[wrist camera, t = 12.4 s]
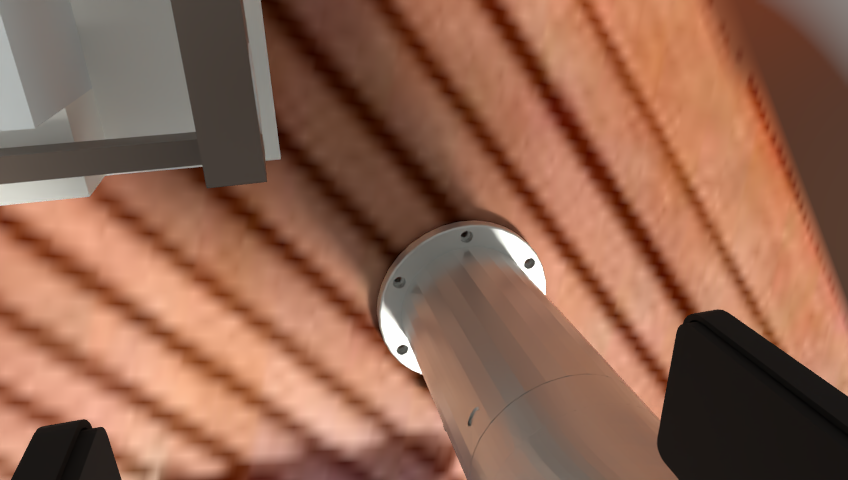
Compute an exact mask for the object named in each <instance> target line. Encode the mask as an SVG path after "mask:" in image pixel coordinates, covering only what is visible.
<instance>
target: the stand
mask: <svg viewBox="0 0 848 480" xmlns="http://www.w3.org/2000/svg"><path fill="white" fill-rule="evenodd" d="M243 4H244V10H245V17H246V24H247V31H248V38H249V43H250V49H251V54H252V61H253V67H254V74H255V81H256V88H257V95H258V102H259V110H260V117H261V126H262V135H263V142H264V149H265V161H268V160H279V159H281V156H280V148H279V140H278V132H277V124H276V116H275V109H274V101H273V93H272V85H271V77H270V69H269V62H268V54H267V46H266V38H265V30H264V22H263V15H262V7H261V0H243ZM188 132H196V130H195V125H194V120H193V115H192V109H191V104H190V99H189V94H188V89H187V84H186V78H185V73H184V68H183V63H182V58H181V52H180V47H179V42H178V37H177V32H176V27H175V21H174V16H173V11H172V6H171V1H170V0H0V148H11V147H23V146H34V145H46V144H58V143H70V142H82V141H93V140H105V139H117V138H129V137H141V136H152V135H164V134H176V133H188ZM193 167H203V166H202V165H195V166H185V167H175V168H165V169H154V170H144V171H134V172H123V173H113V174H103V175H92V176H82V177H72V178H62V179H51V180H41V181H31V182H20V183H10V184H0V206H1V205H11V204H21V203H31V202H41V201H51V200H61V199H71V198H81V197H90V196H91V194H92V193H93V192H94V190H95V189H96V187H97V186H98V185H99V183H100V182H101V181H102V179H103V178H104V177H105V176H107V175H117V174H128V173H139V172H150V171H161V170H171V169H182V168H193Z"/></svg>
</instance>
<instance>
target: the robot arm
mask: <svg viewBox="0 0 848 480" xmlns="http://www.w3.org/2000/svg"><path fill="white" fill-rule="evenodd" d="M465 231H466V232H465ZM463 232H465V233H464V234H463V235H461V234H462V233H463ZM397 277H399V279H396V278H397ZM377 317H378V323H379V328H380V331H381V334H382V336H383V339H384V342H385V343H386V345H387V347H388V349H389V350H390V352H391V353H392V354H393V356H394V357H395V358H396V359H397V360H398V361H399V362H400V363H401V364H403V365H404V366H406V367H407V368H409V369H410V370H412V371H415V372H417V373H419V374H422V375H423V377H424V379H425V382H426V384H427V386H428V389H429V391H430V393H431V396H432V398H433V400H434V403H435V405H436V408H437V410H438V412H439V415H440V417H441V419H442V422H443V427H444V429H445V431H446V432H447V433H448V436H449V438H450V440H451V443H452V445H453V448H454V450H455V452H456V455H457V457H458V459H459V462H460V464H461V466H462V469H463V471H464V473H465V476H466V478H467V480H848V396H846V395H845V394H844V393H842V392H841V391H839V390H838V389H836V388H835V387H834V386H832V385H831V384H829V383H828V382H826V381H825V380H824V379H822V378H821V377H819V376H818V375H816V374H815V373H814V372H812V371H811V370H809V369H808V368H806V367H805V366H804V365H802V364H801V363H799V362H798V361H796V360H795V359H794V358H792V357H791V356H789V355H788V354H786V353H785V352H784V351H782V350H781V349H779V348H778V347H776V346H775V345H774V344H772V343H771V342H769V341H768V340H766V339H765V338H764V337H762V336H761V335H759V334H758V333H757V332H755V331H754V330H752V329H751V328H749V327H748V326H747V325H745V324H744V323H742V322H741V321H739V320H738V319H737V318H735V317H734V316H732V315H731V314H729V313H728V312H726V311H724V310H712V311H706V312H700V313H695V314H691V315H688V316H687V317H686V318H685V320H684V322H683V324H682V325H680V326H679V328H678V330H677V333H676V339H675V344H674V350H673V355H672V361H671V366H670V372H669V377H668V382H667V388H666V393H665V399H664V404H663V410H662V415H661V421H660V420H659V418H658V417H657V416H656V415H655V414H654V413H653V412H652V411H651V410H650V409H649V408H648V407H647V405H646V404H645V403H644V402H643V401H642V400H641V399H640V398H639V397H638V396H637V395H636V394H635V392H634V391H633V390H632V389H631V388H630V387H629V386H628V385H627V384H626V383H625V381H624V380H623V379H622V378H621V377H620V376H619V375H618V374H617V373H616V372H615V371H614V369H613V368H612V367H611V366H610V365H609V364H608V363H607V362H606V361H605V360H604V358H603V357H602V356H601V355H600V354H599V353H598V352H597V351H596V350H595V349H594V348H593V346H592V345H591V344H590V343H589V342H588V341H587V340H586V339H585V338H584V337H583V336H582V334H581V333H580V332H579V331H578V330H577V329H576V328H575V327H574V326H573V325H572V324H571V322H570V321H569V320H568V319H567V318H566V317H565V316H564V315H563V314H562V313H561V312H560V310H559V309H558V308H557V307H556V306H555V305H554V304H553V303H552V302H551V301H550V299H549V298H548V297H547V296H546V278H545V274H544V270H543V266H542V264H541V262H540V260H539V258H538V256H537V254H536V253H535V251H534V250H533V249H532V248H531V247H530V245H529V244H528V243H527V242H526V241H525V240H524V239H522V238H521V237H520V236H519V235H518V234H517V233H515V232H513V231H511V230H510V229H508V228H506V227H504V226H501V225H498V224H495V223H492V222H485V221H476V220H473V221H460V222H455V223H451V224H448V225H444V226H441V227H439V228H436V229H434V230H432V231H430V232H428V233H426V234H424V235H423V236H421V237H420V238H418V239H417V240H415V241H414V242H412V243H411V244H410V245H409V246H408V247H407V248H406V249H405V250H404V251H403V252H402V253H401V254H400V255H399V256H398V257H397V258H396V260H395V261H394V262H393V264H392V265H391V267H390V268H389V269H388V272H387V274H386V276H385V278H384V280H383V282H382V284H381V288H380V292H379V296H378V301H377ZM11 480H121V477H120V474H119V470H118V467H117V464H116V461H115V458H114V454H113V451H112V448H111V445H110V442H109V439H108V435H107V433H106V431H105V429H104V428H103V427H98V428H92V426H91V424H90V423H89V422H88V421H87V420H84V419H83V420H77V421H71V422H66V423H60V424H54V425H48V426H43V427H40V428H38V429H37V431H36V432H35V433H34V435H33V437H32V439H31V441H30V443H29V445H28V447H27V449H26V451H25V453H24V455H23V457H22V459H21V461H20V463H19V465H18V467H17V469H16V471H15V473H14V475H13V477H12V479H11Z"/></svg>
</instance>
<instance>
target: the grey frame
mask: <svg viewBox="0 0 848 480" xmlns="http://www.w3.org/2000/svg"><path fill="white" fill-rule="evenodd" d="M170 1H171V6H172V11H173V16H174V21H175V27H176V32H177V37H178V42H179V47H180V52H181V58H182V63H183V68H184V73H185V78H186V84H187V89H188V94H189V99H190V104H191V109H192V115H193V120H194V125H195V130H196V132H188V133H176V134H164V135H152V136H141V137H129V138H117V139H105V140H93V141H82V142H70V143H58V144H46V145H34V146H23V147H11V148H0V184H10V183H20V182H31V181H41V180H51V179H62V178H72V177H82V176H92V175H103V174H113V173H123V172H134V171H144V170H154V169H165V168H175V167H185V166H195V165H202V166H203V171H204V177H205V182H206V187H207V188H214V187H224V186H233V185H243V184H252V183H261V182H267V176H266V162H265V149H264V142H263V135H262V126H261V117H260V110H259V102H258V95H257V88H256V81H255V74H254V67H253V61H252V54H251V49H250V43H249V38H248V31H247V24H246V17H245V10H244V4H243V0H170Z"/></svg>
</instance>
